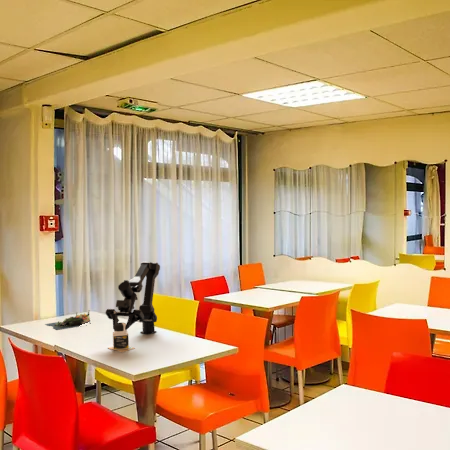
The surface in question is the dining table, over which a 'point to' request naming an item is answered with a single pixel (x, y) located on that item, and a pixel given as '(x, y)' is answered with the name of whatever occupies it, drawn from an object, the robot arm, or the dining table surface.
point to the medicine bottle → (120, 337)
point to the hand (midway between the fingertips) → (119, 329)
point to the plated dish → (71, 322)
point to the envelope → (121, 349)
